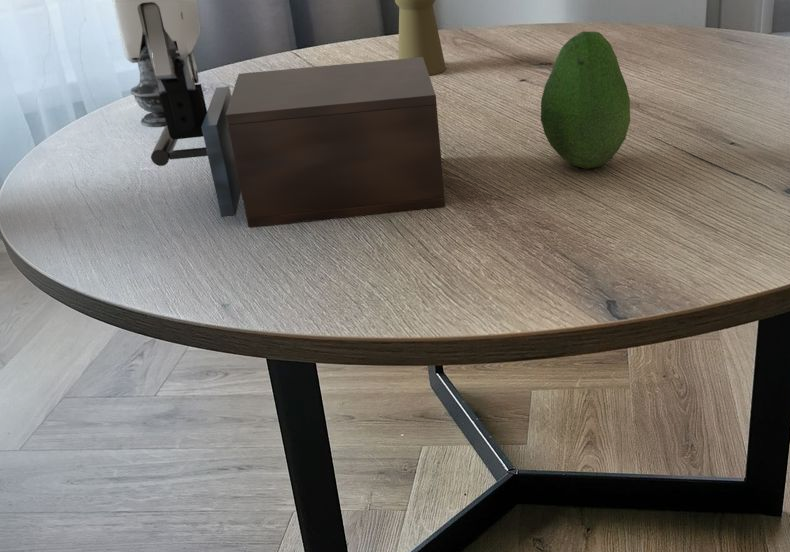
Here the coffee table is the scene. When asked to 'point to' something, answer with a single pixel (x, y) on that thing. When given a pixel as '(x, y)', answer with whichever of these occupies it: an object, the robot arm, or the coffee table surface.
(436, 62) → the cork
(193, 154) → the drawer
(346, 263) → the coffee table surface
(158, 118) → the salt shaker
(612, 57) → the fruit
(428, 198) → the cabinet
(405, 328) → the coffee table surface
